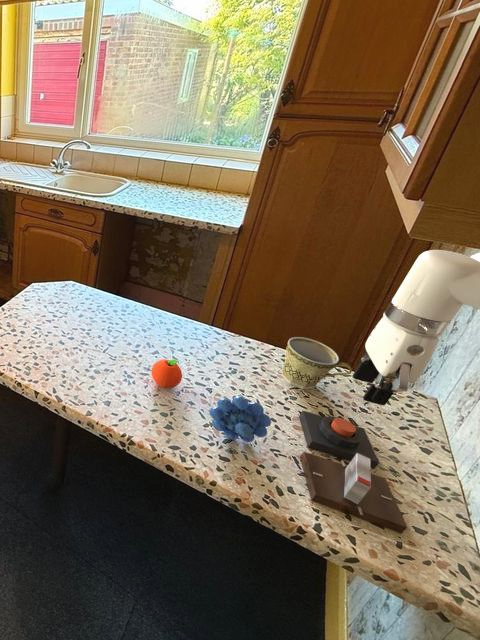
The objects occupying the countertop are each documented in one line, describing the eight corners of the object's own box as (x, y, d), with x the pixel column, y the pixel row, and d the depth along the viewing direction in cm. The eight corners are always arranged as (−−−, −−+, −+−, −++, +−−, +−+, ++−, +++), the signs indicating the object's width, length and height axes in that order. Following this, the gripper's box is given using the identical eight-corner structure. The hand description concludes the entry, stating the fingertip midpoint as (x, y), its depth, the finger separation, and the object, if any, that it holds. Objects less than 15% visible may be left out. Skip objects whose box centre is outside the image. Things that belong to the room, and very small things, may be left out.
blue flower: (205, 448, 85) (222, 409, 79) (198, 422, 91) (214, 384, 85) (267, 462, 82) (290, 422, 77) (256, 435, 88) (276, 396, 82)
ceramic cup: (271, 381, 102) (286, 351, 97) (276, 360, 109) (290, 331, 104) (336, 408, 95) (356, 377, 90) (337, 383, 101) (355, 353, 97)
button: (349, 427, 86) (353, 421, 85) (354, 440, 83) (358, 434, 82) (328, 420, 87) (331, 415, 86) (333, 433, 84) (336, 427, 83)
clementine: (162, 368, 106) (168, 347, 103) (186, 385, 101) (194, 364, 97) (142, 380, 102) (148, 359, 99) (167, 398, 97) (174, 376, 94)
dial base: (378, 480, 79) (384, 474, 78) (403, 538, 70) (410, 531, 69) (298, 454, 84) (302, 447, 83) (312, 504, 75) (317, 498, 74)
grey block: (345, 468, 79) (357, 451, 76) (358, 475, 78) (371, 458, 75) (343, 497, 74) (356, 480, 71) (358, 504, 73) (371, 487, 70)
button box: (359, 435, 88) (367, 422, 86) (374, 469, 81) (383, 456, 79) (298, 416, 92) (305, 404, 90) (307, 447, 85) (315, 435, 83)
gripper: (471, 353, 63) (411, 431, 71) (421, 298, 76) (375, 369, 85) (408, 339, 66) (357, 415, 74) (371, 288, 79) (331, 358, 88)
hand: (367, 390), depth 79 cm, fingers open, 5 cm apart
